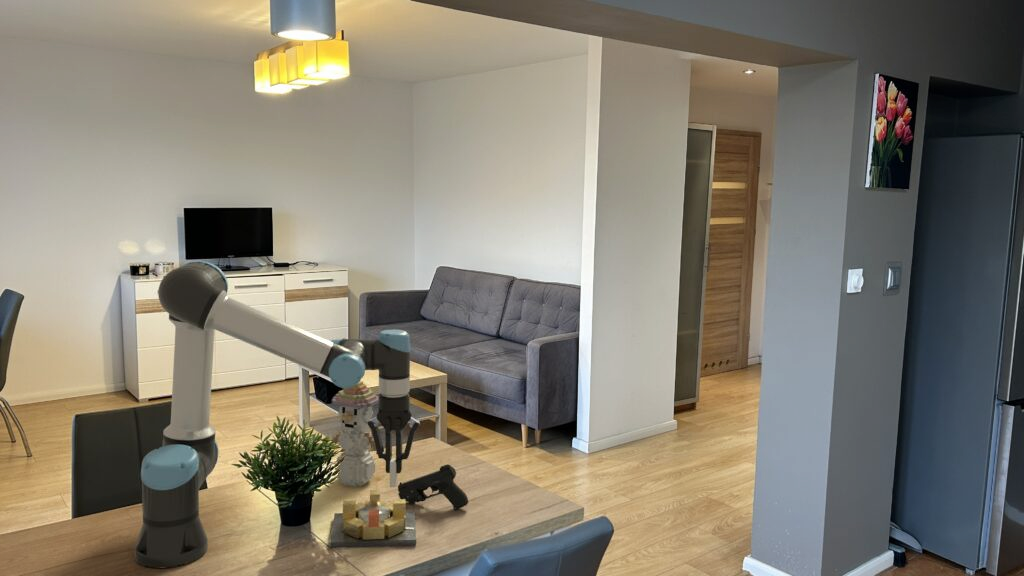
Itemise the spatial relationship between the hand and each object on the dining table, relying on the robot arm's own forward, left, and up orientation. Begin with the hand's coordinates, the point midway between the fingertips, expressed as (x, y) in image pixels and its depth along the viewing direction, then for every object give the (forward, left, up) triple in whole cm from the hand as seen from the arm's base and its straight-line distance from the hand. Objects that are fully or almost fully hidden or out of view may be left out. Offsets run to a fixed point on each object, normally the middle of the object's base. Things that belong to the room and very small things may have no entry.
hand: (393, 484), depth 196 cm
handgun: (+10, +10, -11) cm, 18 cm away
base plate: (-5, -4, -10) cm, 12 cm away
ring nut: (-5, -4, -9) cm, 11 cm away
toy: (-11, +28, -10) cm, 32 cm away
